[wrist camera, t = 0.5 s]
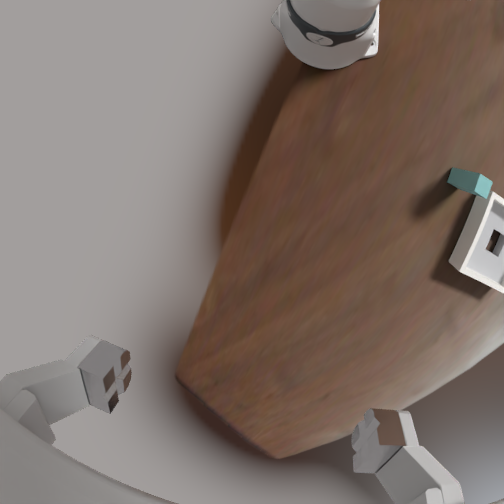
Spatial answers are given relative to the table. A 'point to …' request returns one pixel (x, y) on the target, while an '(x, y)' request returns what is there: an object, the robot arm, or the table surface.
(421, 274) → the table surface
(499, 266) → the box
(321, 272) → the table surface
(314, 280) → the table surface
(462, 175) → the peg
